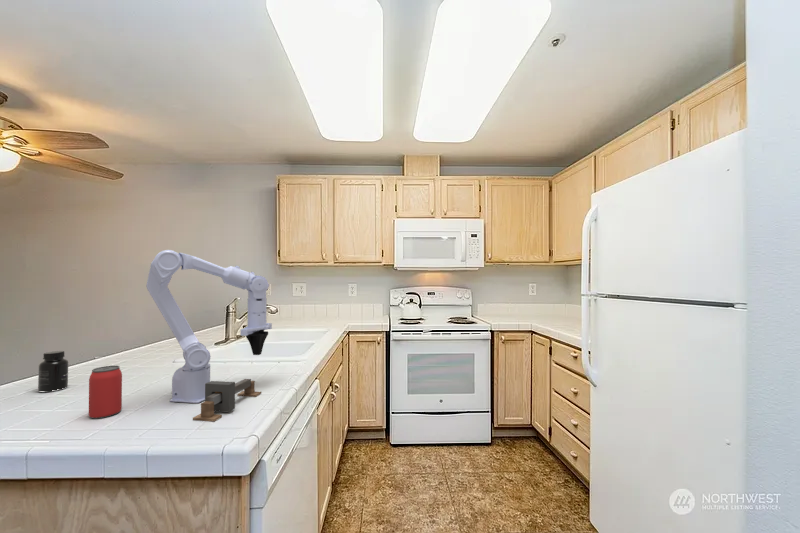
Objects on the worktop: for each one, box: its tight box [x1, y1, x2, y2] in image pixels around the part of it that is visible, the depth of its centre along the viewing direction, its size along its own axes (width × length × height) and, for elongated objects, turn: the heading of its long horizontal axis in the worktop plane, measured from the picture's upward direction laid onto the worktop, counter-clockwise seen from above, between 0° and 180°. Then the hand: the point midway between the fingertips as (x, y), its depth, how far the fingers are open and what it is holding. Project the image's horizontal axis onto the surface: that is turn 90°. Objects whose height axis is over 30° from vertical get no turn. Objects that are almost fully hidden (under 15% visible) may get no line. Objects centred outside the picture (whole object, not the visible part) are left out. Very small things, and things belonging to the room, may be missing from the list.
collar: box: [204, 380, 236, 413], centre depth 91 cm, size 7×2×7 cm, turn 80°
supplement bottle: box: [37, 350, 69, 392], centre depth 112 cm, size 7×7×12 cm
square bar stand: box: [192, 378, 262, 422], centre depth 95 cm, size 6×20×5 cm, turn 170°
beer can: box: [88, 365, 123, 419], centre depth 91 cm, size 7×7×12 cm
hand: (257, 354), depth 112 cm, fingers closed
